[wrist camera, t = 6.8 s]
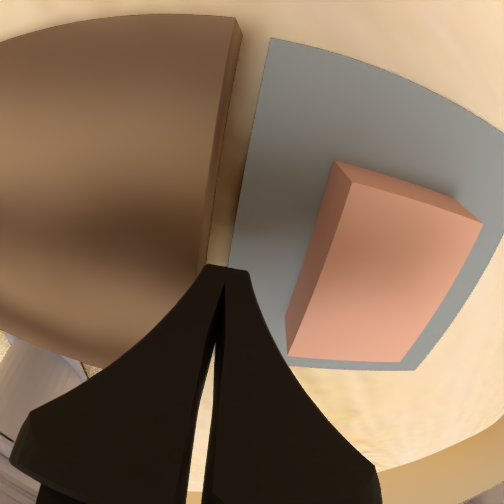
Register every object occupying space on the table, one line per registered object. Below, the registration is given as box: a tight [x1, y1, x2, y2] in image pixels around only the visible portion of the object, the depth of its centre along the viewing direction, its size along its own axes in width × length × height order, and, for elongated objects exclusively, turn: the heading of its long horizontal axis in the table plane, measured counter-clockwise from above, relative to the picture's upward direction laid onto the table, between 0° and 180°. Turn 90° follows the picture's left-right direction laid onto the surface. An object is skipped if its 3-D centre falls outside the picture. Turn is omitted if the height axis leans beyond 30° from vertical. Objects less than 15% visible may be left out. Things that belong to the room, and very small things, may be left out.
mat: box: [214, 38, 504, 371], centre depth 13 cm, size 16×14×1 cm
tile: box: [285, 161, 483, 362], centre depth 12 cm, size 8×6×2 cm
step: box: [0, 14, 242, 369], centre depth 11 cm, size 16×14×3 cm
